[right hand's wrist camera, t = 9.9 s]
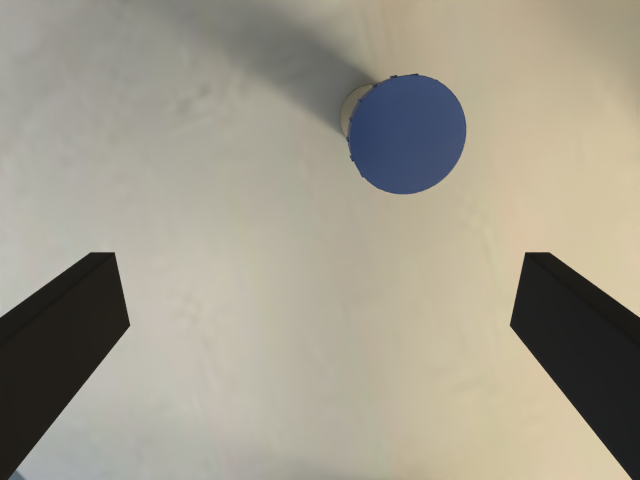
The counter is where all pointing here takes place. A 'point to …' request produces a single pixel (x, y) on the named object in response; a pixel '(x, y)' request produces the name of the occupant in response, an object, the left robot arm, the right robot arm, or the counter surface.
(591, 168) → the counter surface
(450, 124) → the lid
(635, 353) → the right robot arm
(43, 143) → the counter surface
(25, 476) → the counter surface
